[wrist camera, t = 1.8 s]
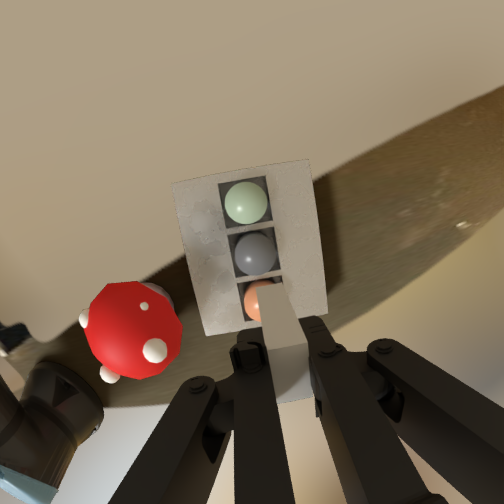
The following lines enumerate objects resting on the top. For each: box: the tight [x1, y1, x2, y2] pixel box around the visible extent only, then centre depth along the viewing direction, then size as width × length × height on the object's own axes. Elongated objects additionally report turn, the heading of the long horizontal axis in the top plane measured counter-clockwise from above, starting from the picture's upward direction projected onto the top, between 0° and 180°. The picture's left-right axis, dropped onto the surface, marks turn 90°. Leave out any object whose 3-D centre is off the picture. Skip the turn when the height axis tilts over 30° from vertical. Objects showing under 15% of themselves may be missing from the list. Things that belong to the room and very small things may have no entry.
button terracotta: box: [244, 279, 274, 322], centre depth 31 cm, size 4×4×2 cm
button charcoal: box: [235, 232, 276, 276], centre depth 30 cm, size 4×4×2 cm
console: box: [171, 159, 328, 336], centre depth 32 cm, size 14×17×4 cm
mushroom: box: [79, 281, 183, 383], centre depth 29 cm, size 11×11×12 cm
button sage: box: [225, 182, 267, 224], centre depth 28 cm, size 4×4×2 cm
